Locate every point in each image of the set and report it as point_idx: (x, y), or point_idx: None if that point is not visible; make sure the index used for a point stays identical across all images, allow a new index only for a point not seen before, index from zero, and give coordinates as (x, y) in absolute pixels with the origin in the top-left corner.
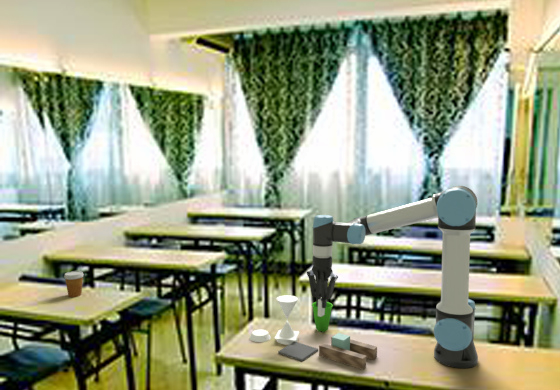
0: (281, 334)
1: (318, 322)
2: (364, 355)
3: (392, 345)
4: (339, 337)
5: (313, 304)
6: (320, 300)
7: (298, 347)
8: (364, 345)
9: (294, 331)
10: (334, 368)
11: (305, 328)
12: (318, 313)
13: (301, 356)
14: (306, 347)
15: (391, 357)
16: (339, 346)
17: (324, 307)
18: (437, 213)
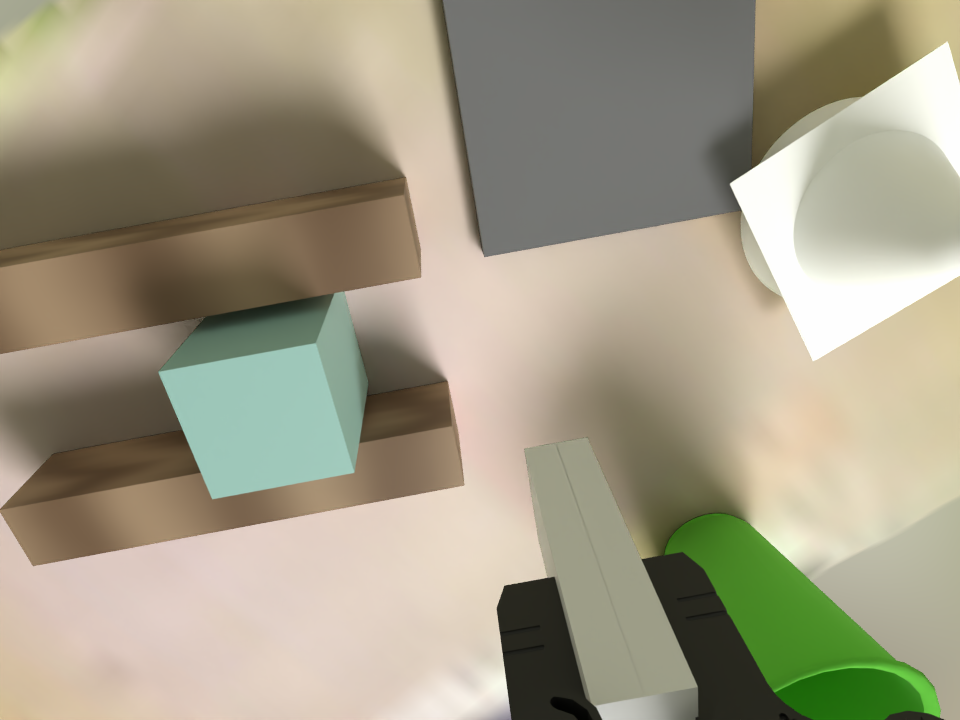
0: (920, 144)
1: (742, 559)
2: None
3: (169, 693)
4: (253, 396)
5: (919, 700)
6: (615, 693)
7: (641, 133)
8: (119, 511)
9: (851, 325)
10: (108, 78)
11: (826, 478)
12: (584, 466)
13: None
14: (581, 193)
15: (16, 570)
16: (234, 328)
17: (500, 602)
18: None
